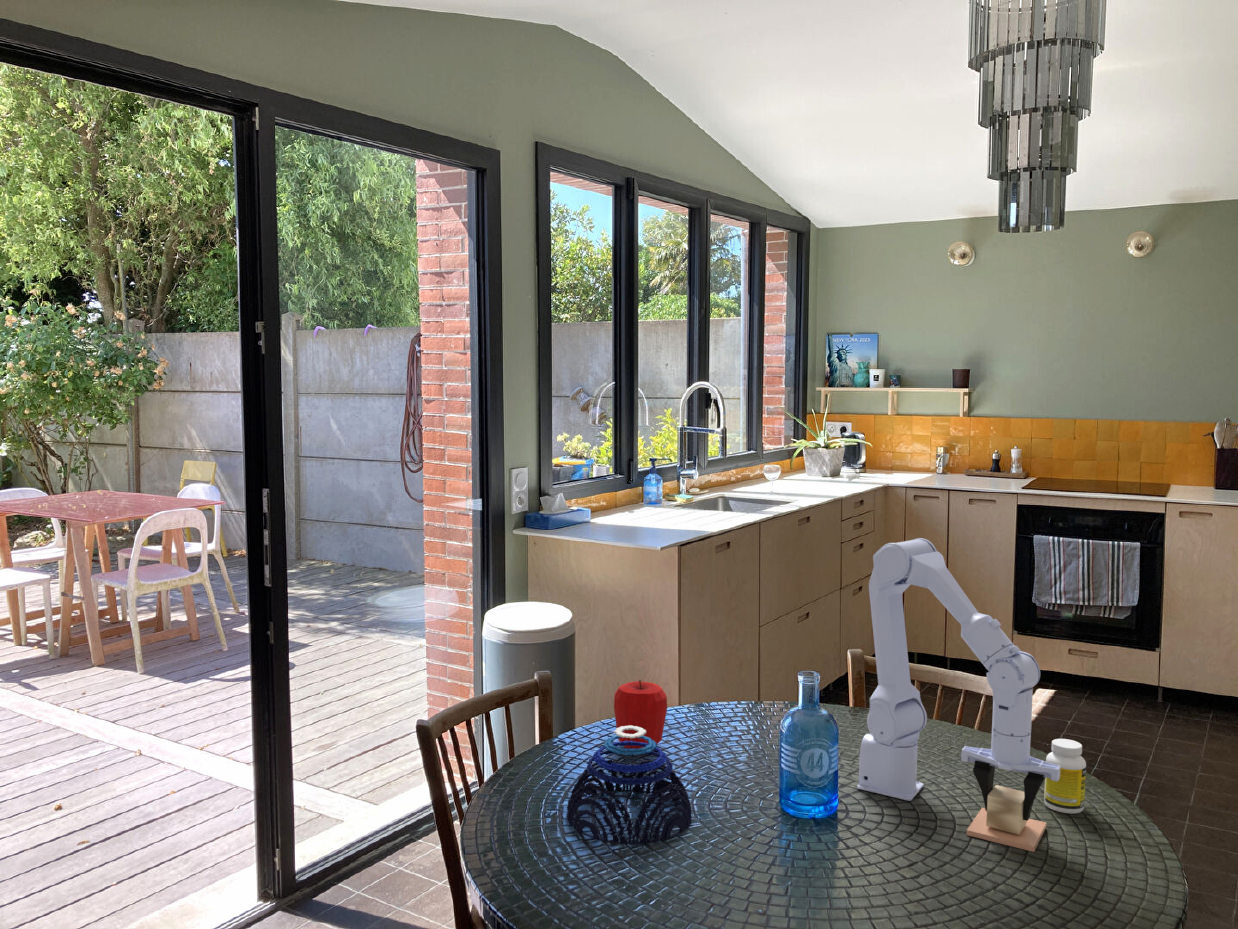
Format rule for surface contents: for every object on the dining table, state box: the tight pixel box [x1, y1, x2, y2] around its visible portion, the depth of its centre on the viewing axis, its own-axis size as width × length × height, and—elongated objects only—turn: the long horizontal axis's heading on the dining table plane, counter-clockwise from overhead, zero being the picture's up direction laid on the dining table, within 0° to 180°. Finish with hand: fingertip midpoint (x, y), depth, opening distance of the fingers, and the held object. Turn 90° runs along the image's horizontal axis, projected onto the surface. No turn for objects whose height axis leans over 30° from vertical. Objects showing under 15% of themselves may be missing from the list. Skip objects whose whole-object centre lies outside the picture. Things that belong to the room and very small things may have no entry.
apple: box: [613, 679, 668, 749], centre depth 191 cm, size 11×10×14 cm
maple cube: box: [986, 784, 1027, 835], centre depth 157 cm, size 5×5×5 cm
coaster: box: [966, 807, 1047, 853], centre depth 158 cm, size 10×10×1 cm
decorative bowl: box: [566, 725, 692, 845], centre depth 162 cm, size 20×20×14 cm
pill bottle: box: [1043, 738, 1087, 815], centre depth 167 cm, size 6×6×11 cm
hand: (1007, 813), depth 158 cm, fingers closed on maple cube, 5 cm apart
